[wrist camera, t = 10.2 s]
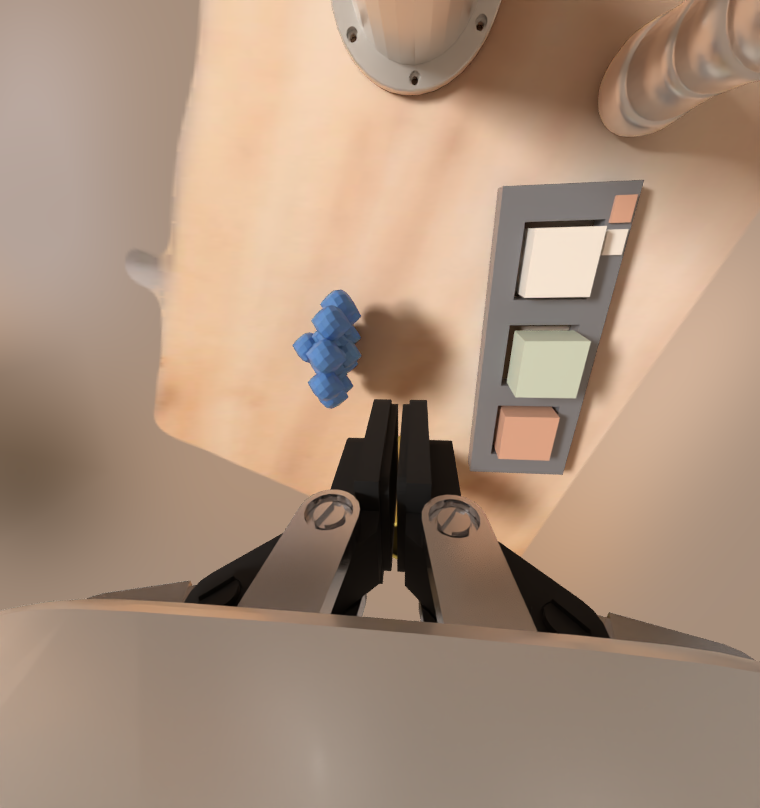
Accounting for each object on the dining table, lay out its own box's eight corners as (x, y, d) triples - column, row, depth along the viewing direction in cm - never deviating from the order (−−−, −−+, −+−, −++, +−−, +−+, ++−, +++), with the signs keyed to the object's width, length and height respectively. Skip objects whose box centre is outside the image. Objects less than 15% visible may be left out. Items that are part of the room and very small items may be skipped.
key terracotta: (498, 401, 39) (505, 416, 36) (548, 402, 39) (559, 417, 36) (492, 441, 42) (498, 458, 39) (539, 442, 41) (549, 460, 38)
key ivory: (523, 228, 31) (535, 228, 28) (587, 226, 31) (607, 225, 27) (514, 291, 34) (524, 297, 31) (573, 290, 33) (589, 296, 30)
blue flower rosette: (311, 273, 35) (265, 292, 24) (375, 283, 35) (357, 306, 24) (308, 375, 40) (269, 428, 30) (364, 384, 40) (345, 440, 30)
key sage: (514, 330, 33) (525, 341, 30) (574, 330, 33) (591, 341, 30) (506, 382, 36) (515, 397, 33) (561, 383, 35) (575, 398, 32)
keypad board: (498, 188, 30) (503, 185, 28) (630, 182, 29) (646, 179, 27) (467, 461, 44) (470, 472, 42) (556, 464, 43) (563, 476, 41)
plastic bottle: (680, 124, 27) (1184, -75, 9) (588, 157, 28) (869, 40, 11) (686, 16, 24) (1411, -555, 7) (584, 59, 26) (951, -312, 8)
